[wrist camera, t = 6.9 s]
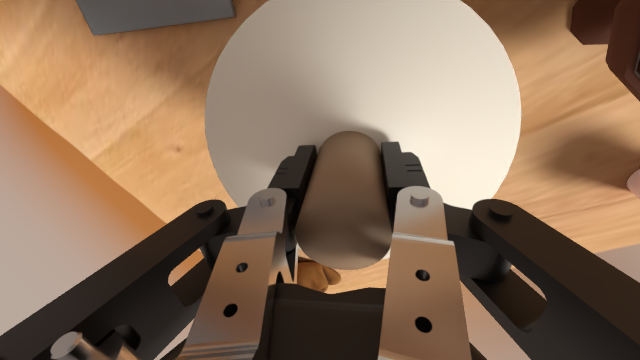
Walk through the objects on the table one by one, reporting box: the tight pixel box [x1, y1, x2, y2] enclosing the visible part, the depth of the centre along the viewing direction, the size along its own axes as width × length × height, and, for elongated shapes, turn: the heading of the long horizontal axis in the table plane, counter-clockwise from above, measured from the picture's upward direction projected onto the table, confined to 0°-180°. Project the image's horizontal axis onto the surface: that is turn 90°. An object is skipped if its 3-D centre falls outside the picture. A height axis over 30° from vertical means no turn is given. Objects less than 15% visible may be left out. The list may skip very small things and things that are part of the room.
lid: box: [205, 0, 521, 270], centre depth 11 cm, size 14×14×6 cm
